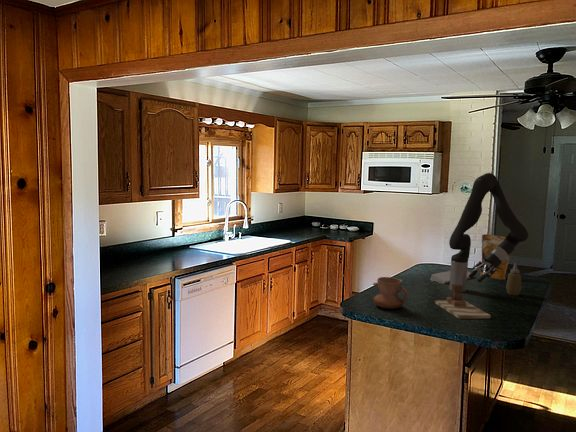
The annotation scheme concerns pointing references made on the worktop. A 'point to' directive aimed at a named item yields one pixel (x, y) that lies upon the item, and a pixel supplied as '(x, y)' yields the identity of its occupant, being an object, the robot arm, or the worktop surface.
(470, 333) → the worktop surface
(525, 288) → the worktop surface
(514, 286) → the squeeze bottle
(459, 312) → the birch board
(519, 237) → the robot arm
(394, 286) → the ceramic jug
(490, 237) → the pancake mix bag
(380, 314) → the worktop surface
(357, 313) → the worktop surface
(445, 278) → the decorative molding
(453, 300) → the block
